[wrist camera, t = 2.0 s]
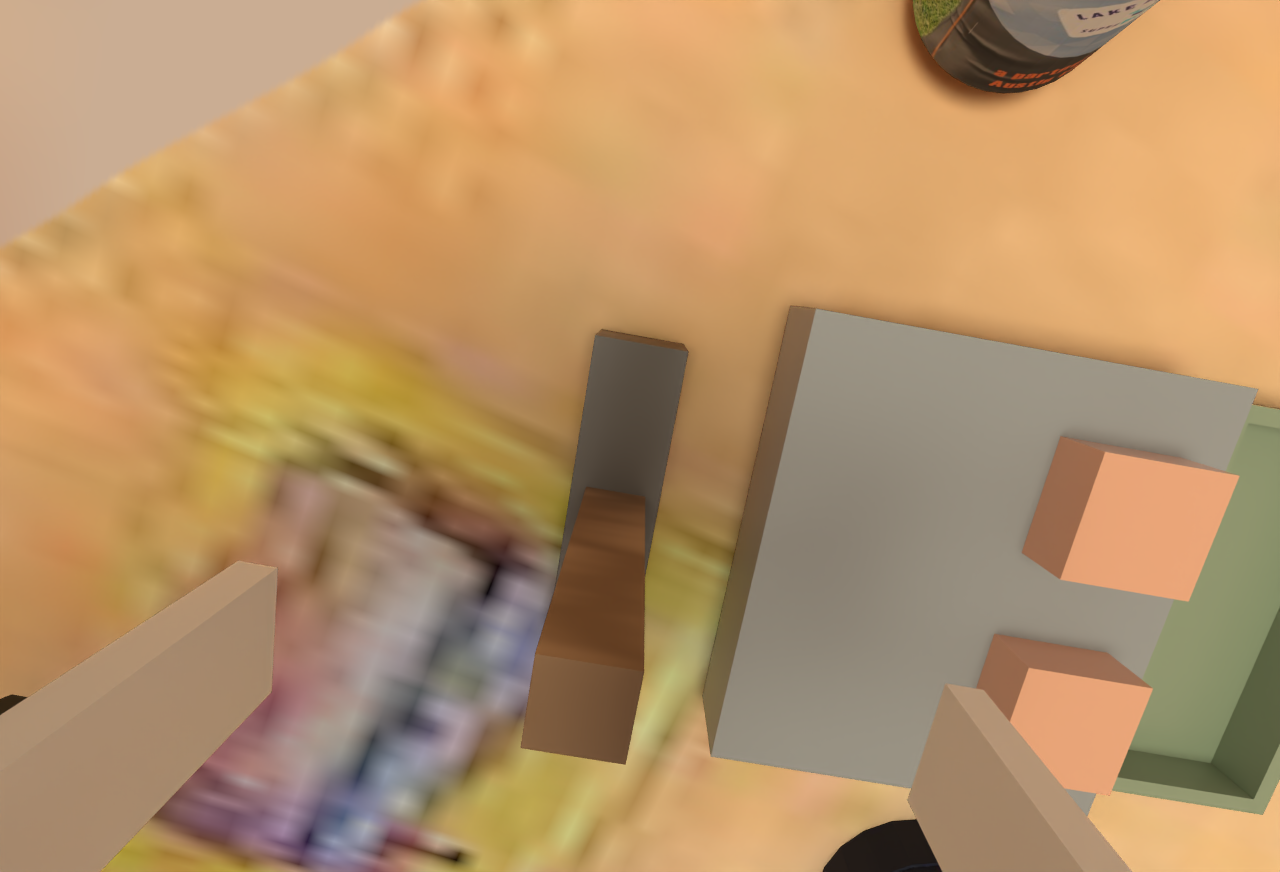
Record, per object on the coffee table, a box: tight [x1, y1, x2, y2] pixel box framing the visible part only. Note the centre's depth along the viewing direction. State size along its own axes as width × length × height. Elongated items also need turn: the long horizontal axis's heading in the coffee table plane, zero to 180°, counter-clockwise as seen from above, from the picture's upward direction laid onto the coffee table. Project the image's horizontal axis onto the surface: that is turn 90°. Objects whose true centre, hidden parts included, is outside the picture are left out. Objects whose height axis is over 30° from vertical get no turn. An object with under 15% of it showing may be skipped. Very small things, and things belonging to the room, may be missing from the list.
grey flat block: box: [703, 306, 1258, 816], centre depth 23 cm, size 14×16×4 cm
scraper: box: [521, 329, 688, 765], centre depth 18 cm, size 3×12×13 cm, turn 170°
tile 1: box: [976, 634, 1153, 796], centre depth 21 cm, size 4×4×2 cm
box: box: [1112, 404, 1280, 815], centre depth 24 cm, size 7×15×2 cm, turn 170°
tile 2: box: [1022, 436, 1239, 602], centre depth 20 cm, size 4×4×2 cm
